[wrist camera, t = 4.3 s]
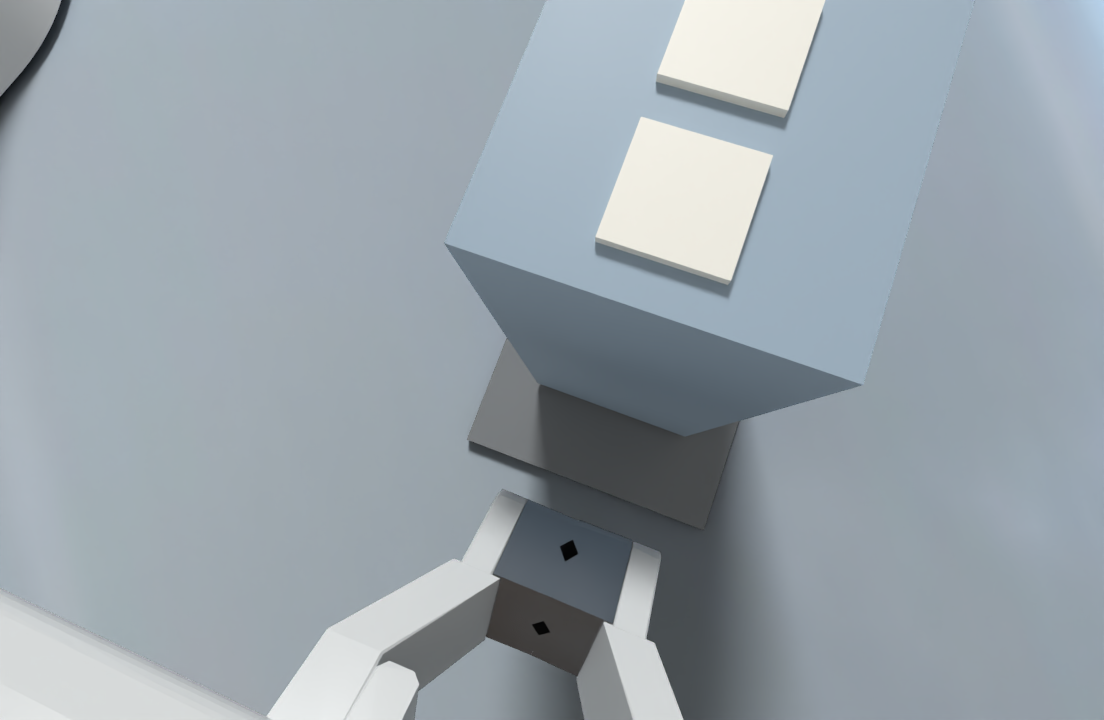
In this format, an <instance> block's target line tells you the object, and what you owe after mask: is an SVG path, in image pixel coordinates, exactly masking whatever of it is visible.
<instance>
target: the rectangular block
mask: <svg viewBox="0 0 1104 720" xmlns="http://www.w3.org/2000/svg"><path fill="white" fill-rule="evenodd" d="M974 3H975V1H974V0H546V2H545V5H544V7H543V9H542V12H541V14H540V16H539V19H538V21H537V24H536V26H535V28H534V31H533V33H532V35H531V38H530V40H529V43H528V45H527V47H526V50H525V52H524V54H523V57H522V59H521V61H520V64H519V66H518V69H517V71H516V73H515V76H514V78H513V80H512V83H511V85H510V88H509V90H508V92H507V95H506V97H505V99H504V102H503V104H502V107H501V109H500V111H499V114H498V116H497V118H496V121H495V123H494V126H493V128H492V130H491V133H490V135H489V137H488V140H487V142H486V144H485V147H484V149H483V152H482V154H481V156H480V159H479V161H478V163H477V166H476V168H475V171H474V173H473V175H472V178H471V180H470V182H469V185H468V187H467V190H466V192H465V194H464V197H463V199H462V201H461V204H460V206H459V209H458V211H457V213H456V216H455V218H454V220H453V223H452V225H451V227H450V230H449V232H448V235H447V237H446V239H445V242H444V244H445V245H446V247H447V248H448V250H449V251H450V253H451V254H452V256H453V257H454V259H455V260H456V262H457V263H458V265H459V266H460V268H461V269H462V271H463V272H464V274H465V275H466V277H467V278H468V280H469V281H470V283H471V284H472V286H473V287H474V289H475V290H476V292H477V293H478V295H479V296H480V298H481V299H482V301H483V302H484V304H485V305H486V307H487V308H488V310H489V311H490V313H491V314H492V316H493V317H494V319H495V320H496V322H497V323H498V325H499V326H500V328H501V329H502V331H503V332H504V334H505V335H506V337H507V338H508V340H509V341H510V343H511V344H512V346H513V347H514V349H515V350H516V352H517V353H518V355H519V356H520V358H521V359H522V361H523V362H524V364H525V365H526V367H527V368H528V370H529V371H530V373H531V374H532V376H533V377H534V379H535V380H536V382H537V383H539V384H542V385H544V386H547V387H550V388H553V389H555V390H558V391H561V392H564V393H566V394H569V395H572V396H575V397H577V398H580V399H583V400H585V401H588V402H591V403H594V404H596V405H599V406H602V407H605V408H607V409H610V410H613V411H616V412H618V413H621V414H624V415H627V416H629V417H632V418H635V419H638V420H640V421H643V422H646V423H649V424H651V425H654V426H657V427H660V428H662V429H665V430H668V431H671V432H673V433H676V434H679V435H682V436H684V437H686V436H689V435H692V434H696V433H699V432H703V431H706V430H710V429H713V428H717V427H720V426H723V425H727V424H730V423H734V422H737V421H741V420H744V419H748V418H751V417H754V416H758V415H761V414H765V413H768V412H772V411H775V410H779V409H782V408H785V407H789V406H792V405H796V404H799V403H803V402H806V401H810V400H813V399H816V398H820V397H823V396H827V395H830V394H834V393H837V392H841V391H844V390H847V389H851V388H854V387H858V386H861V385H863V384H864V381H865V377H866V374H867V370H868V367H869V364H870V360H871V357H872V353H873V350H874V346H875V343H876V339H877V336H878V333H879V329H880V326H881V322H882V319H883V315H884V312H885V309H886V305H887V302H888V298H889V295H890V291H891V288H892V284H893V281H894V278H895V274H896V271H897V267H898V264H899V260H900V257H901V254H902V250H903V247H904V243H905V240H906V236H907V233H908V229H909V226H910V223H911V219H912V216H913V212H914V209H915V205H916V202H917V199H918V195H919V192H920V188H921V185H922V181H923V178H924V174H925V171H926V168H927V164H928V161H929V157H930V154H931V150H932V147H933V144H934V140H935V137H936V133H937V130H938V126H939V123H940V120H941V116H942V113H943V109H944V106H945V102H946V99H947V95H948V92H949V89H950V85H951V82H952V78H953V75H954V71H955V68H956V65H957V61H958V58H959V54H960V51H961V47H962V44H963V40H964V37H965V34H966V30H967V27H968V23H969V20H970V16H971V13H972V10H973V6H974Z"/></svg>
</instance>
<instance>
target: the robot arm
mask: <svg viewBox="0 0 1104 720" xmlns="http://www.w3.org/2000/svg"><path fill="white" fill-rule="evenodd" d="M60 3H61V0H0V96H1V95H2V94H3V93H4V92H5V90H6V89H7V88H8V87H9V86H10V85H11V84H12V82H13V81H14V80H15V79H16V78H17V77H18V76H19V74H20V73H21V72H22V71H23V70H24V68H25V67H26V66H27V64H28V63H29V62H30V61H31V59H32V58H33V56H34V55H35V53H36V52H37V51H38V49H39V47H40V46H41V44H42V42H43V41H44V39H45V37H46V35H47V33H48V32H49V30H50V28H51V26H52V24H53V21H54V19H55V16H56V14H57V12H58V9H59V6H60ZM660 562H661V554H660V552H659V551H657V550H654V549H652V548H649V547H647V546H644V545H642V544H639V543H636V542H634V541H633V542H632V540H631V539H628V538H625V537H623V536H620V535H617V534H615V533H612V532H610V531H607V530H604V529H602V528H599V527H596V526H594V525H591V524H589V523H586V522H583V521H581V520H579V521H578V520H575V519H573V518H571V517H568V516H566V515H564V514H561V513H559V512H557V511H554V510H552V509H550V508H547V507H545V506H543V505H540V504H538V503H536V502H533V501H531V500H528V499H526V498H523V497H521V496H519V495H516V494H514V493H511V492H509V491H506V490H504V489H502V490H501V491H500V492H499V493H498V494H497V496H496V498H495V499H494V501H493V503H492V505H491V507H490V509H489V511H488V512H487V514H486V516H485V518H484V520H483V522H482V524H481V526H480V527H479V529H478V531H477V533H476V535H475V537H474V539H473V541H472V542H471V544H470V546H469V548H468V550H467V552H466V554H465V556H464V557H463V559H462V561H459V560H456V559H452V560H450V561H448V562H446V563H445V564H443V565H441V566H439V567H437V568H436V569H434V570H432V571H430V572H428V573H427V574H425V575H423V576H421V577H419V578H418V579H416V580H414V581H412V582H410V583H409V584H407V585H405V586H403V587H401V588H400V589H398V590H396V591H394V592H393V593H391V594H389V595H387V596H385V597H384V598H382V599H380V600H378V601H376V602H375V603H373V604H371V605H369V606H367V607H366V608H364V609H362V610H360V611H358V612H357V613H355V614H353V615H351V616H349V617H348V618H346V619H344V620H342V621H340V622H339V623H337V624H335V625H333V626H331V627H330V628H328V629H327V630H326V631H325V633H324V634H323V636H322V637H321V639H320V640H319V641H318V643H317V644H316V646H315V647H314V649H313V650H312V652H311V653H310V654H309V656H308V657H307V659H306V660H305V662H304V663H303V665H302V666H301V667H300V669H299V670H298V672H297V673H296V675H295V676H294V678H293V679H292V680H291V682H290V683H289V685H288V686H287V688H286V689H285V690H284V692H283V693H282V695H281V696H280V698H279V699H278V701H277V702H276V703H275V705H274V706H273V708H272V709H271V711H270V712H269V714H268V715H267V716H264V715H262V714H260V713H258V712H256V711H254V710H252V709H250V708H248V707H245V706H243V705H241V704H239V703H237V702H235V701H233V700H231V699H229V698H227V697H225V696H223V695H221V694H219V693H217V692H214V691H212V690H210V689H208V688H206V687H204V686H202V685H200V684H198V683H196V682H194V681H192V680H190V679H188V678H186V677H183V676H181V675H179V674H177V673H175V672H173V671H171V670H169V669H167V668H165V667H163V666H161V665H159V664H157V663H155V662H152V661H150V660H148V659H146V658H144V657H142V656H140V655H138V654H136V653H134V652H132V651H130V650H128V649H126V648H124V647H122V646H119V645H117V644H115V643H113V642H111V641H109V640H107V639H105V638H103V637H101V636H99V635H97V634H95V633H93V632H91V631H88V630H86V629H84V628H82V627H80V626H78V625H76V624H74V623H72V622H70V621H68V620H66V619H64V618H62V617H60V616H57V615H55V614H53V613H51V612H49V611H47V610H45V609H43V608H41V607H39V606H37V605H35V604H33V603H31V602H29V601H26V600H24V599H22V598H20V597H18V596H16V595H14V594H12V593H10V592H8V591H6V590H4V589H2V588H0V720H415V712H416V705H417V697H418V691H419V690H421V689H422V688H423V687H425V686H426V685H427V684H428V683H430V682H431V681H432V680H434V679H435V678H436V677H437V676H439V675H440V674H441V673H443V672H444V671H445V670H446V669H448V668H449V667H450V666H452V665H453V664H454V663H456V662H457V661H458V660H459V659H461V658H462V657H463V656H465V655H466V654H467V653H468V652H470V651H471V650H472V649H474V648H475V647H476V646H477V645H479V644H480V643H481V642H483V641H484V640H485V637H488V638H490V639H493V640H495V641H498V642H500V643H503V644H505V645H508V646H510V647H513V648H515V649H518V650H520V651H523V652H525V653H528V654H530V655H532V656H534V657H537V658H539V659H541V660H543V661H545V662H547V663H549V664H551V665H554V666H556V667H558V668H560V669H562V670H564V671H566V672H569V673H571V674H573V675H575V676H577V678H576V680H577V685H578V690H579V695H580V700H581V705H582V710H583V715H584V720H683V717H682V714H681V712H680V709H679V706H678V704H677V701H676V698H675V696H674V693H673V690H672V687H671V685H670V682H669V679H668V677H667V674H666V671H665V669H664V666H663V663H662V661H661V658H660V655H659V653H658V650H657V647H656V645H655V643H654V642H652V641H649V640H647V639H646V638H647V633H648V627H649V622H650V617H651V611H652V606H653V600H654V595H655V589H656V584H657V579H658V573H659V568H660Z"/></svg>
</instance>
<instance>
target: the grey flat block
mask: <svg viewBox="0 0 1104 720" xmlns="http://www.w3.org/2000/svg"><path fill="white" fill-rule="evenodd" d="M738 422H739V421H737V422H734V423H730V424H727V425H723V426H720V427H717V428H713V429H710V430H706V431H703V432H699V433H696V434H692V435H689V436H686V437H684V436H682V435H679V434H676V433H673V432H671V431H668V430H665V429H662V428H660V427H657V426H654V425H651V424H649V423H646V422H643V421H640V420H638V419H635V418H632V417H629V416H627V415H624V414H621V413H618V412H616V411H613V410H610V409H607V408H605V407H602V406H599V405H596V404H594V403H591V402H588V401H585V400H583V399H580V398H577V397H575V396H572V395H569V394H566V393H564V392H561V391H558V390H555V389H553V388H550V387H547V386H544V385H542V384H539V383H537V382H536V380H535V379H534V377H533V376H532V374H531V373H530V371H529V370H528V368H527V367H526V365H525V364H524V362H523V361H522V359H521V358H520V356H519V355H518V353H517V352H516V350H515V349H514V347H513V346H512V344H511V343H510V341H509V340H508V338H507V339H506V341H505V344H504V346H503V349H502V352H501V354H500V357H499V359H498V362H497V364H496V367H495V369H494V372H493V374H492V377H491V380H490V382H489V385H488V387H487V390H486V392H485V395H484V397H483V400H482V402H481V405H480V407H479V410H478V413H477V415H476V418H475V420H474V423H473V425H472V428H471V430H470V433H469V435H468V438H467V440H469V441H472V442H475V443H477V444H480V445H482V446H485V447H488V448H490V449H493V450H495V451H498V452H501V453H503V454H506V455H508V456H511V457H514V458H516V459H519V460H522V461H524V462H527V463H529V464H532V465H535V466H537V467H540V468H542V469H545V470H548V471H550V472H553V473H555V474H558V475H561V476H563V477H566V478H568V479H571V480H574V481H576V482H579V483H581V484H584V485H587V486H589V487H592V488H594V489H597V490H600V491H602V492H605V493H607V494H610V495H613V496H615V497H618V498H620V499H623V500H626V501H628V502H631V503H634V504H636V505H639V506H641V507H644V508H647V509H649V510H652V511H654V512H657V513H660V514H662V515H665V516H667V517H670V518H673V519H675V520H678V521H680V522H683V523H686V524H688V525H691V526H693V527H696V528H699V529H701V530H704V528H705V525H706V522H707V519H708V515H709V512H710V509H711V506H712V503H713V500H714V497H715V494H716V491H717V487H718V484H719V481H720V478H721V475H722V472H723V469H724V466H725V463H726V460H727V456H728V453H729V450H730V447H731V444H732V441H733V438H734V435H735V432H736V428H737V425H738Z"/></svg>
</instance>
